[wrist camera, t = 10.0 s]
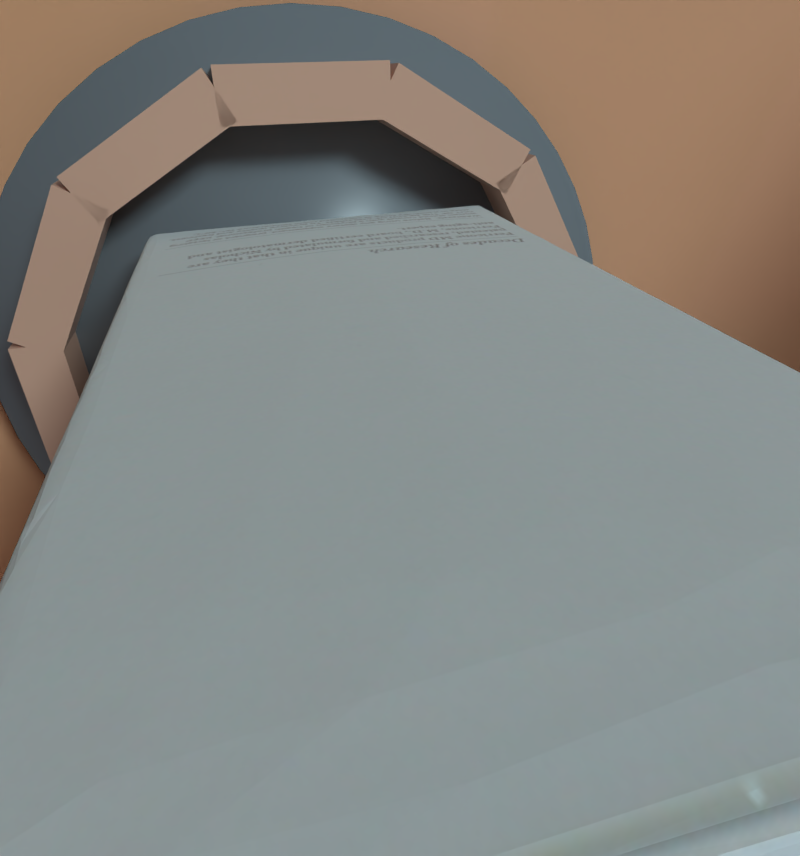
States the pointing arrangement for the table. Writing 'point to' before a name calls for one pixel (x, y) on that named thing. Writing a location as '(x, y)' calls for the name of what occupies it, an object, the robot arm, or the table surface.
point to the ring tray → (245, 168)
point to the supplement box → (407, 563)
